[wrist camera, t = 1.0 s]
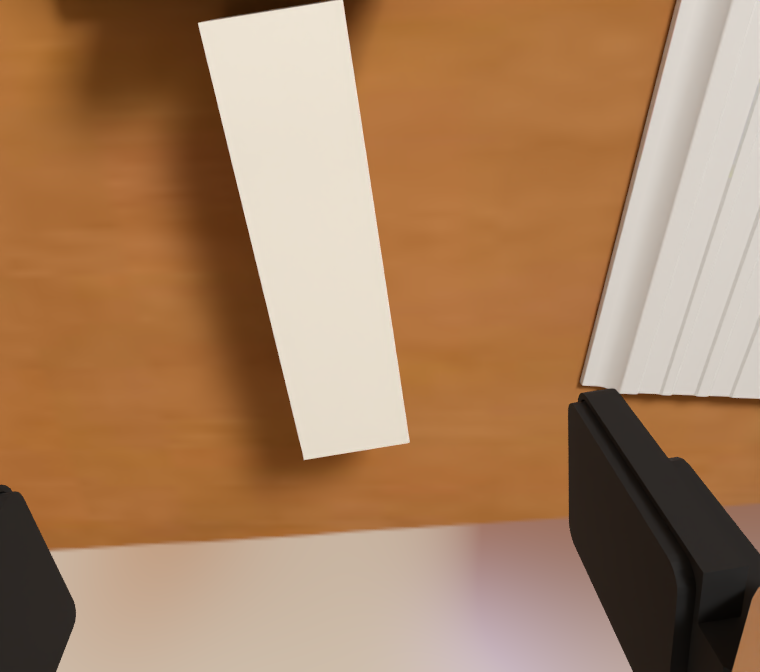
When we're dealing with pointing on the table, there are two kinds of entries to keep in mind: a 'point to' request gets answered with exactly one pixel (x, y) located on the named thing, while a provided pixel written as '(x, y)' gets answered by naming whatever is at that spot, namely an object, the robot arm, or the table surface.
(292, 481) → the table surface
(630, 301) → the grooved white panel
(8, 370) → the table surface
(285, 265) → the clay bar
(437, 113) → the table surface
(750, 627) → the robot arm
